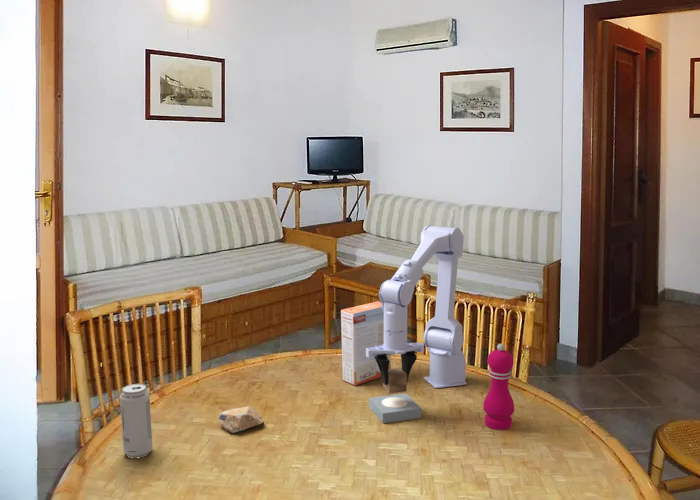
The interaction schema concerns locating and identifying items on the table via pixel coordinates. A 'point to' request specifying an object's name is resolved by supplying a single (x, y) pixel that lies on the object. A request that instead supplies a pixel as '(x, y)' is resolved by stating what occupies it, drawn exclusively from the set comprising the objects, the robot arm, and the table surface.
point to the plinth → (394, 408)
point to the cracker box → (361, 342)
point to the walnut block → (396, 381)
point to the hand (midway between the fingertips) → (394, 382)
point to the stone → (240, 419)
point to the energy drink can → (136, 420)
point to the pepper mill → (499, 390)
